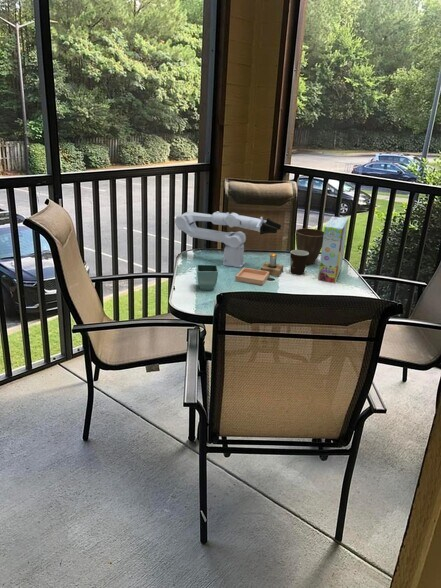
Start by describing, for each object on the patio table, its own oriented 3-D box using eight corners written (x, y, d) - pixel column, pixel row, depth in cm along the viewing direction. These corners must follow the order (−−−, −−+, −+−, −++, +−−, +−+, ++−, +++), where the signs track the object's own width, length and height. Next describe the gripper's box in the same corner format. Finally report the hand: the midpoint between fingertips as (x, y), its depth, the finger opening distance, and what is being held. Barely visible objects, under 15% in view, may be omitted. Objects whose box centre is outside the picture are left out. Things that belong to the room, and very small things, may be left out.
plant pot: (295, 256, 243) (299, 226, 237) (323, 260, 238) (328, 230, 232) (289, 264, 230) (292, 233, 224) (318, 269, 225) (323, 237, 219)
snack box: (324, 266, 230) (331, 215, 220) (341, 269, 227) (350, 218, 217) (316, 280, 211) (324, 225, 201) (335, 283, 209) (344, 228, 199)
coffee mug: (305, 276, 215) (308, 256, 211) (287, 274, 216) (289, 254, 212) (306, 268, 225) (309, 249, 221) (289, 266, 227) (291, 247, 223)
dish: (235, 280, 205) (235, 275, 204) (243, 272, 216) (243, 267, 215) (262, 285, 201) (262, 280, 200) (269, 276, 212) (269, 271, 211)
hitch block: (260, 273, 215) (260, 267, 214) (264, 268, 223) (265, 262, 222) (278, 276, 213) (279, 270, 211) (282, 270, 220) (283, 265, 219)
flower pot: (195, 283, 199) (196, 264, 196) (215, 284, 200) (217, 264, 197) (196, 291, 191) (197, 271, 188) (217, 291, 192) (218, 271, 189)
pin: (267, 272, 217) (269, 254, 213) (269, 270, 219) (271, 252, 216) (274, 273, 216) (275, 255, 213) (275, 271, 219) (277, 253, 215)
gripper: (247, 218, 208) (276, 223, 204) (256, 212, 220) (283, 217, 217) (245, 233, 210) (274, 238, 207) (254, 226, 223) (281, 231, 220)
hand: (278, 228), depth 212 cm, fingers open, 7 cm apart
